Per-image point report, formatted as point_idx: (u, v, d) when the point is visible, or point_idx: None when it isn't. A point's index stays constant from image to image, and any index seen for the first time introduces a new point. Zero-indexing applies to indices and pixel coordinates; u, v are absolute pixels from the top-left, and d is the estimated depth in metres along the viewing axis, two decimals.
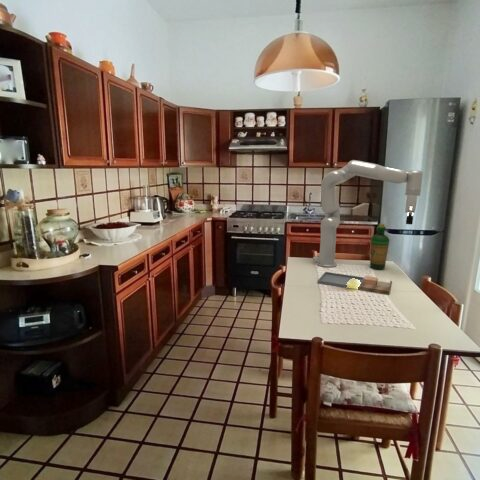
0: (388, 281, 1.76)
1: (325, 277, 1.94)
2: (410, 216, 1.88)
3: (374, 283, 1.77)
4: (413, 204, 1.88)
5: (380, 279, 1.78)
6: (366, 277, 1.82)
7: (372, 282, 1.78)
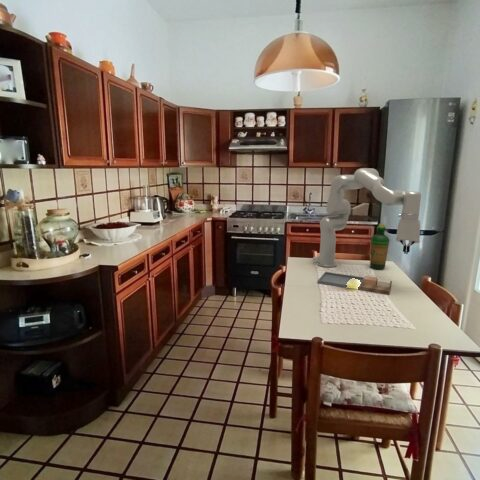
0: (388, 281, 1.76)
1: (325, 277, 1.94)
2: (411, 244, 1.69)
3: (374, 283, 1.77)
4: None
5: (380, 279, 1.78)
6: (366, 277, 1.82)
7: (372, 282, 1.78)
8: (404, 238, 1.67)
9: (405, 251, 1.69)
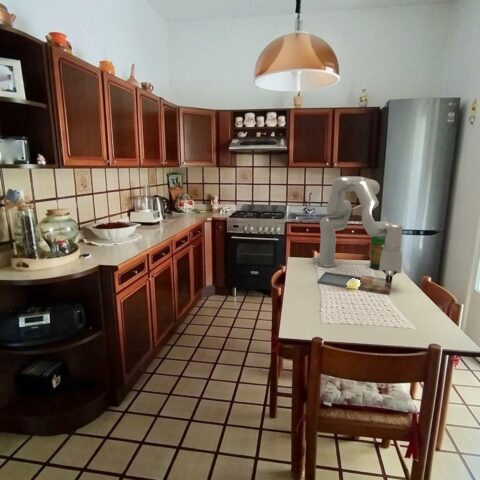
0: (383, 280, 1.77)
1: (325, 277, 1.94)
2: None
3: (370, 282, 1.78)
4: None
5: (375, 279, 1.79)
6: (363, 276, 1.83)
7: (369, 282, 1.79)
8: (387, 268, 1.74)
9: (388, 280, 1.76)
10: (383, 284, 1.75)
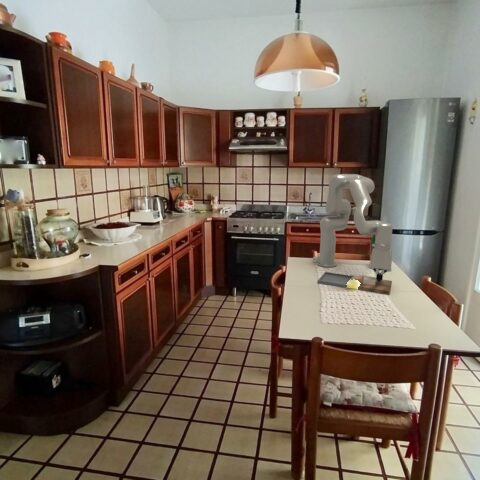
0: (374, 279, 1.79)
1: (325, 277, 1.94)
2: None
3: (361, 281, 1.80)
4: None
5: (366, 277, 1.81)
6: (352, 278, 1.85)
7: (359, 281, 1.81)
8: (377, 267, 1.76)
9: (378, 279, 1.78)
10: (373, 283, 1.77)
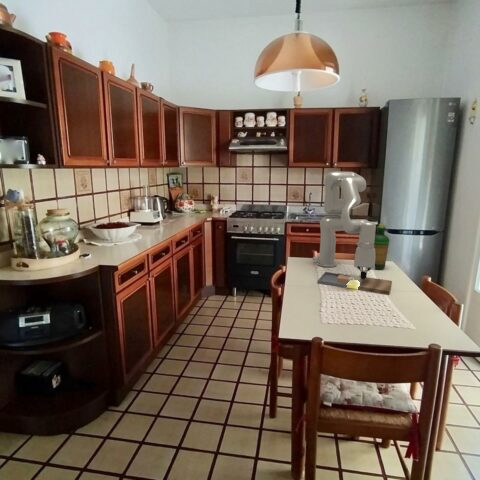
0: (359, 278, 1.82)
1: (325, 277, 1.94)
2: None
3: (346, 282, 1.84)
4: None
5: (351, 277, 1.85)
6: (339, 276, 1.88)
7: (345, 281, 1.84)
8: (361, 265, 1.79)
9: (362, 277, 1.81)
10: None
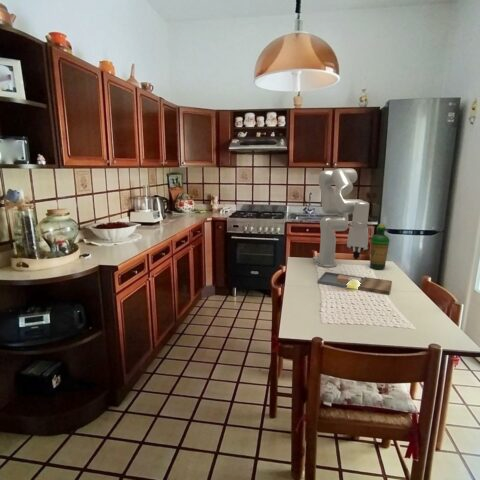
0: (358, 280, 1.82)
1: (325, 277, 1.94)
2: (360, 251, 1.81)
3: (346, 282, 1.84)
4: None
5: (351, 278, 1.85)
6: (339, 276, 1.88)
7: (345, 281, 1.84)
8: (354, 245, 1.79)
9: (355, 257, 1.81)
10: None
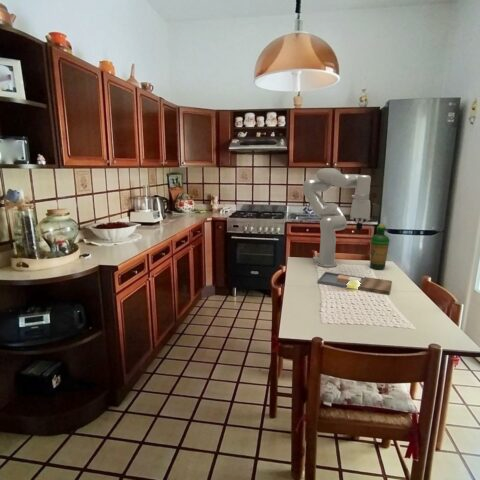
0: (358, 280, 1.82)
1: (325, 277, 1.94)
2: None
3: (346, 282, 1.84)
4: None
5: (351, 278, 1.85)
6: (339, 276, 1.88)
7: (345, 281, 1.84)
8: (356, 216, 1.90)
9: (358, 228, 1.92)
10: None
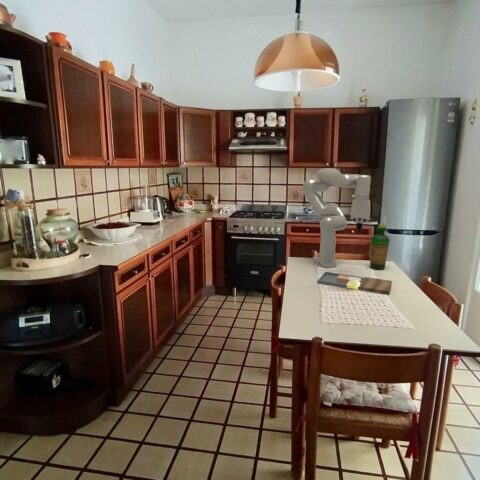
0: (358, 280, 1.82)
1: (325, 277, 1.94)
2: None
3: (346, 282, 1.84)
4: None
5: (351, 278, 1.85)
6: (339, 276, 1.88)
7: (345, 281, 1.84)
8: (356, 216, 1.90)
9: (358, 228, 1.92)
10: None
